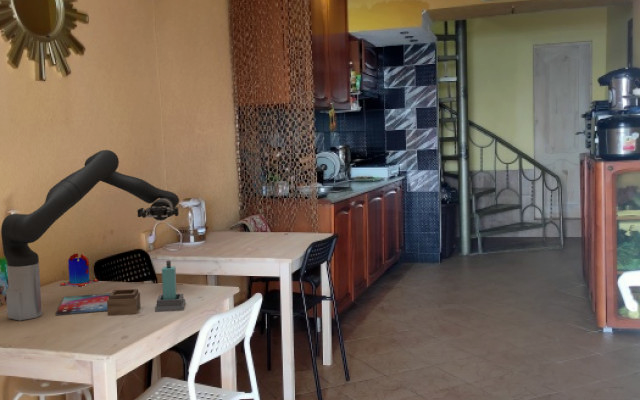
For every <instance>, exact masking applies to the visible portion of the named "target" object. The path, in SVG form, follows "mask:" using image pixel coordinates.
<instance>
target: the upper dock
mask: <svg viewBox="0 0 640 400" xmlns="http://www.w3.org/2000/svg"><path fill="white" fill-rule="evenodd" d="M110 293H111V294H110V295H109V298H108V300H107V309H108V312H107V316H118V315H119V316H121V315H136V314H137V313H138V312H139V310H140V308H141V305H142V304H141V292H140V291H139V289H138V288H133V289H128V288H127V289H113V290H112V291H111V292H110Z"/></svg>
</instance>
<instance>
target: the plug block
mask: <svg viewBox="0 0 640 400" xmlns="http://www.w3.org/2000/svg"><path fill="white" fill-rule="evenodd" d="M165 262H166V266H163V267H162V268H161V280H162V282H161V283H162V295H163V300H168V299H177V294H178V293H177V272H176V268H177V267H176V266H172V262H171V260H169V259H168V260H166V261H165Z"/></svg>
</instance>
